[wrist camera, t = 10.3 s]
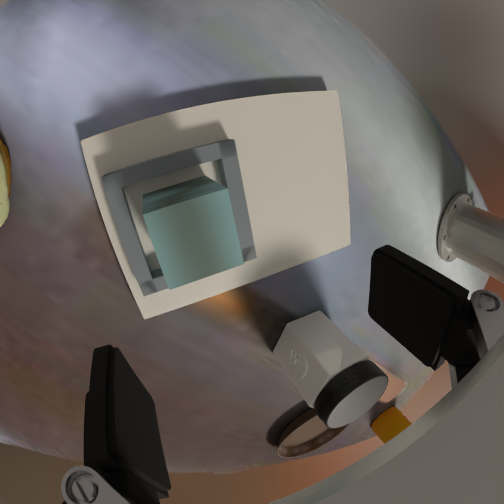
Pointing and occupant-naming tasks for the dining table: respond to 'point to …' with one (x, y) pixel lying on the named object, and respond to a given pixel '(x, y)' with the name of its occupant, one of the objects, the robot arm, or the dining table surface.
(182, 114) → the board
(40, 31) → the dining table surface
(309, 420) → the plant saucer
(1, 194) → the decorated donut
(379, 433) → the beer bottle
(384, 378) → the jar
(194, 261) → the teal block
